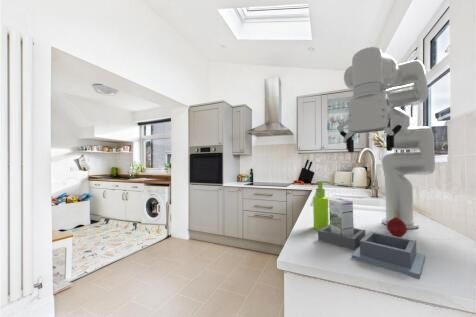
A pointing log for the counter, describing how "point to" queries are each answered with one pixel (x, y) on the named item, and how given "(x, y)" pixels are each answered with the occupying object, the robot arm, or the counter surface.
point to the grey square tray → (341, 238)
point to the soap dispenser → (320, 207)
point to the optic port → (390, 253)
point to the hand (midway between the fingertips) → (369, 151)
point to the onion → (396, 227)
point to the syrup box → (341, 217)
